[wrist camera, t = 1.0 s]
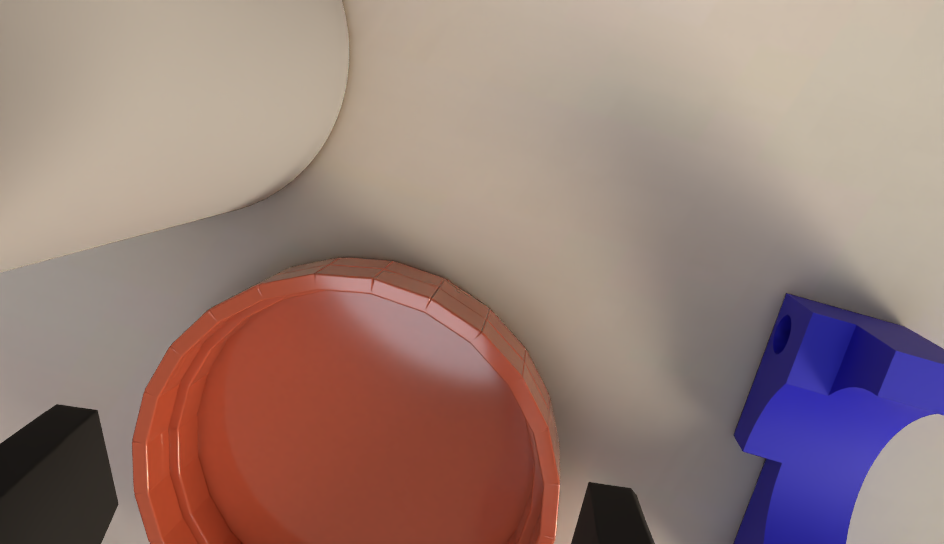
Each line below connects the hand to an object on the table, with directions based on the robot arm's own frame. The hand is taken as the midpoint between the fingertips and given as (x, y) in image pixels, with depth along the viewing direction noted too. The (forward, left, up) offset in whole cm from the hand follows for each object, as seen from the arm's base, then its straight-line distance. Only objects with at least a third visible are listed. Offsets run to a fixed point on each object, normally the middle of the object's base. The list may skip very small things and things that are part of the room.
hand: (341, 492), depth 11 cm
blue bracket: (-14, -4, -19) cm, 24 cm away
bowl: (-3, +9, -19) cm, 21 cm away
